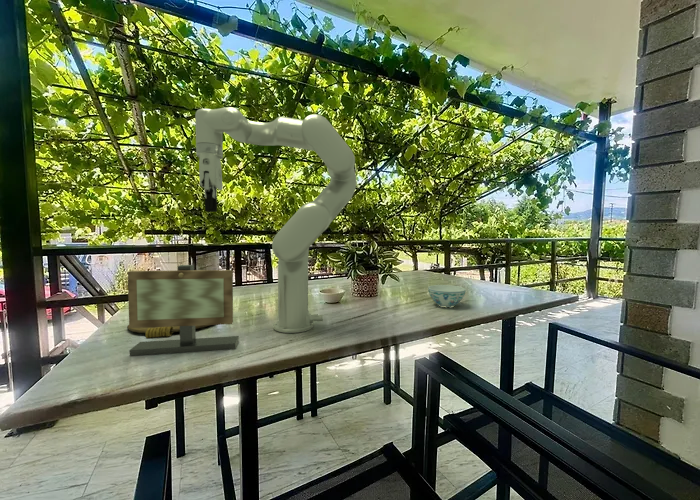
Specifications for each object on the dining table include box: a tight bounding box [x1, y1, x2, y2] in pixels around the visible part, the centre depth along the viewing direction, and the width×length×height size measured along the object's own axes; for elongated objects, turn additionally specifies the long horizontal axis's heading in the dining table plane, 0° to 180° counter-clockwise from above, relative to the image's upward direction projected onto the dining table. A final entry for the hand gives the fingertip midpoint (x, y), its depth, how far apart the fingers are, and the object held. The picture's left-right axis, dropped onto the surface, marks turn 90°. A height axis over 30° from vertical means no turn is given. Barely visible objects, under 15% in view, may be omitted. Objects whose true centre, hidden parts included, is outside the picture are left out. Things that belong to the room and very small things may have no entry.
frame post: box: [128, 264, 240, 357], centre depth 83 cm, size 25×6×22 cm, turn 102°
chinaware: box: [427, 284, 467, 307], centre depth 131 cm, size 15×15×8 cm
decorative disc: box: [127, 324, 210, 339], centre depth 106 cm, size 29×3×30 cm
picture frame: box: [127, 269, 234, 328], centre depth 80 cm, size 24×2×14 cm, turn 101°
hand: (211, 211), depth 99 cm, fingers closed
